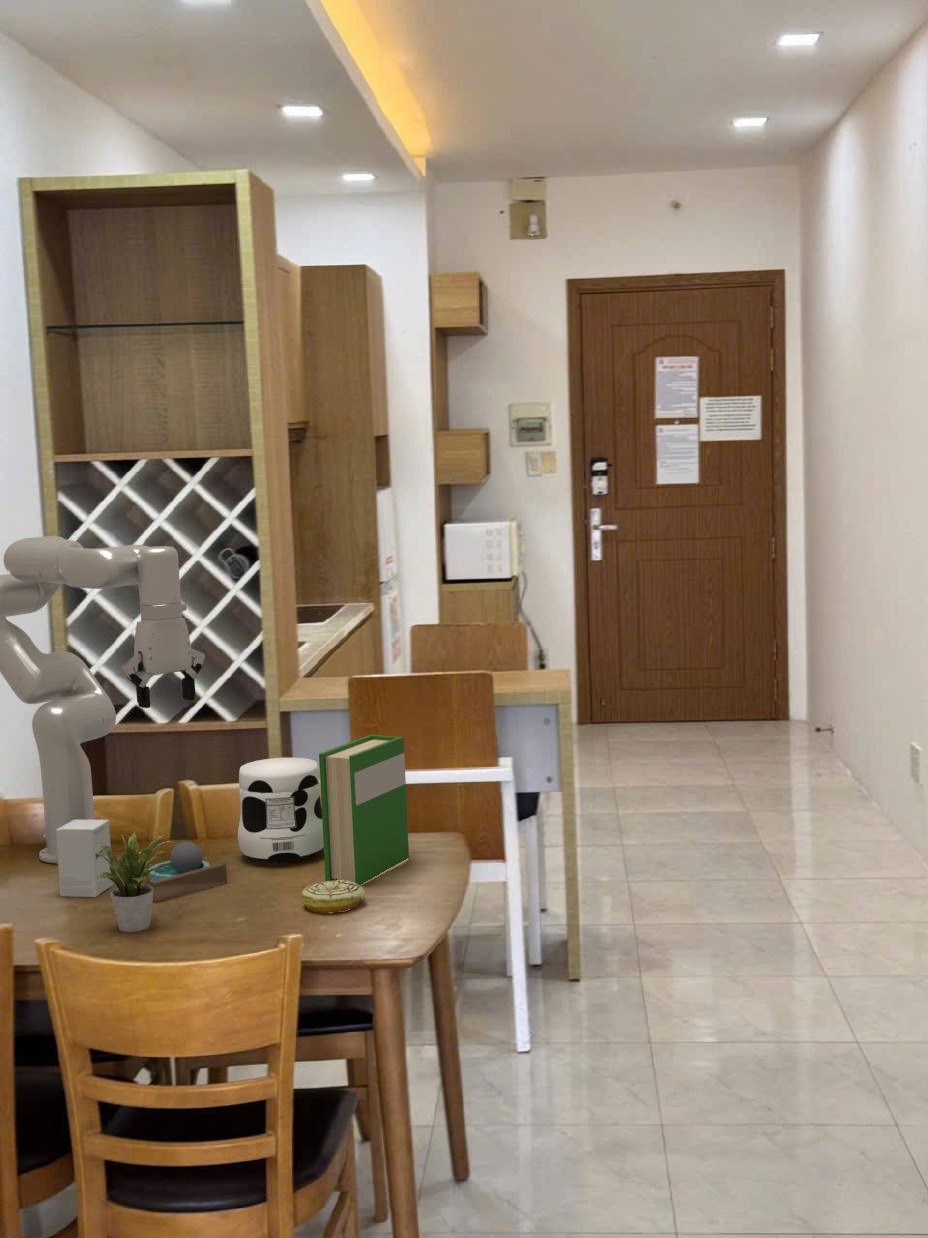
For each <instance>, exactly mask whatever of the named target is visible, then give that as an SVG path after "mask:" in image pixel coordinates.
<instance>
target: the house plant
mask: <svg viewBox="0 0 928 1238" xmlns="http://www.w3.org/2000/svg"><path fill="white" fill-rule="evenodd" d="M119 833H120V832H119ZM165 835H166V833H164V834H161V835H159V836H158V837H156V838H154V839H153V840H152V841H151V842H150V844H149V845H148V846H147V847H146V848H144V849H142V850H140V851H139V850H138V849H139V842H138V838H137V834H136V832H135V831H134V830H133V831H132V834H131V835H130V836H129V838H128V841H127V840H126V839H125V837H124V835H123V834H122V833H120V836H121V838H122V841H123V844H124V848H125V850H124V851H123V852H122V853H121V856H118V857H116V856H115V855H114V853H113V852H112V850H111V851H110V850H109V849H107V848H106V847H104V846H103V845H101V844H100V843H96V842H95V843H96V844H97V845H98V846H100V847H101V848H102V850H103V851H104V852H105V853H106V855H107V856H108V858H109V860H110V861H111V862H110V861H109V860H108V859H107V858H106V857H104V856H103V855H102V854H99V853H98V854H99V855H101V856H102V857H104V858H105V859H106V860H107V861H108V862H109V865H110V871H111V873H112V874H111V873H109V872H103V873H101V874H102V875H101V876H100V877H99V878H98V879H100V878H109V879H110V880H112V881H113V884H115V885H116V887H117V888H115V889H113V890H112V891H111V892H110V897H111V903H112V905H113V910H114V913H115V917H116V921H117V927H118V929H119V931H121V932H125V933H134V932H135V933H136V932H140V931H141V932H142V931H144V930H147V929H149V928H150V927H151V922H152V911H153V891H154V888H153V887H151V886H150V885H148V882H149V883H150V880H148V881H147V882H146V883H145V884H142V883H143V881H144V880H145V879H146V877H147V876H148V875H149V873H150V872H152V871H154V870H158V871H160V870H166V869H163V868H165V867H171V866H165V867H163V868H153V869H151V870H149V869H150V868H151V867H152V866H154V865H155V864H151V862H153V860H154V859H156V858H157V857H158V856H156V855H157V854H161V853H163V851H157V852H156V853H153V855H152V856H151V857H150V855H151V854H152V852H153V851H154V850H156V849H157V848H158V847H159V846H161V845H163V844H166V843H167V844H168V843H171V842H173V840H165V841H160V839H161V838H163V837H164V836H165ZM93 842H94V841H93ZM140 855H141V858H140ZM149 857H150V858H149ZM148 858H149V859H148ZM158 871H157V872H158ZM166 871H167V870H166ZM157 872H156V873H157ZM156 873H155V874H156ZM155 874H154V875H155ZM154 875H153V876H154ZM153 876H152V877H153Z"/></svg>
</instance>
